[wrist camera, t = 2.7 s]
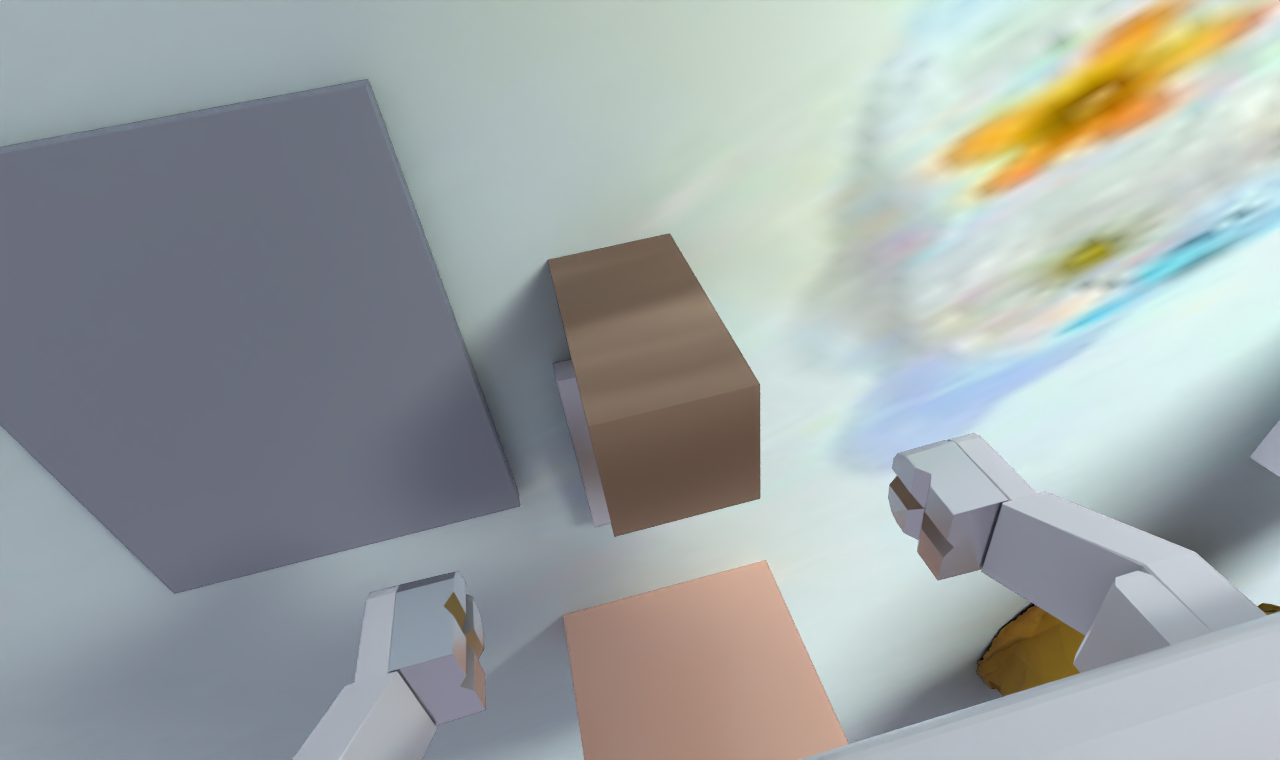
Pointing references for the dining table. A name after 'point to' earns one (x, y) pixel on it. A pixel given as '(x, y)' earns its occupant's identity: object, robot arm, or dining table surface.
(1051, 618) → the pitcher
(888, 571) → the dining table surface
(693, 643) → the tile
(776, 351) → the dining table surface
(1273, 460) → the milk
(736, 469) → the brown block
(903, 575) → the dining table surface
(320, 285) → the pad
